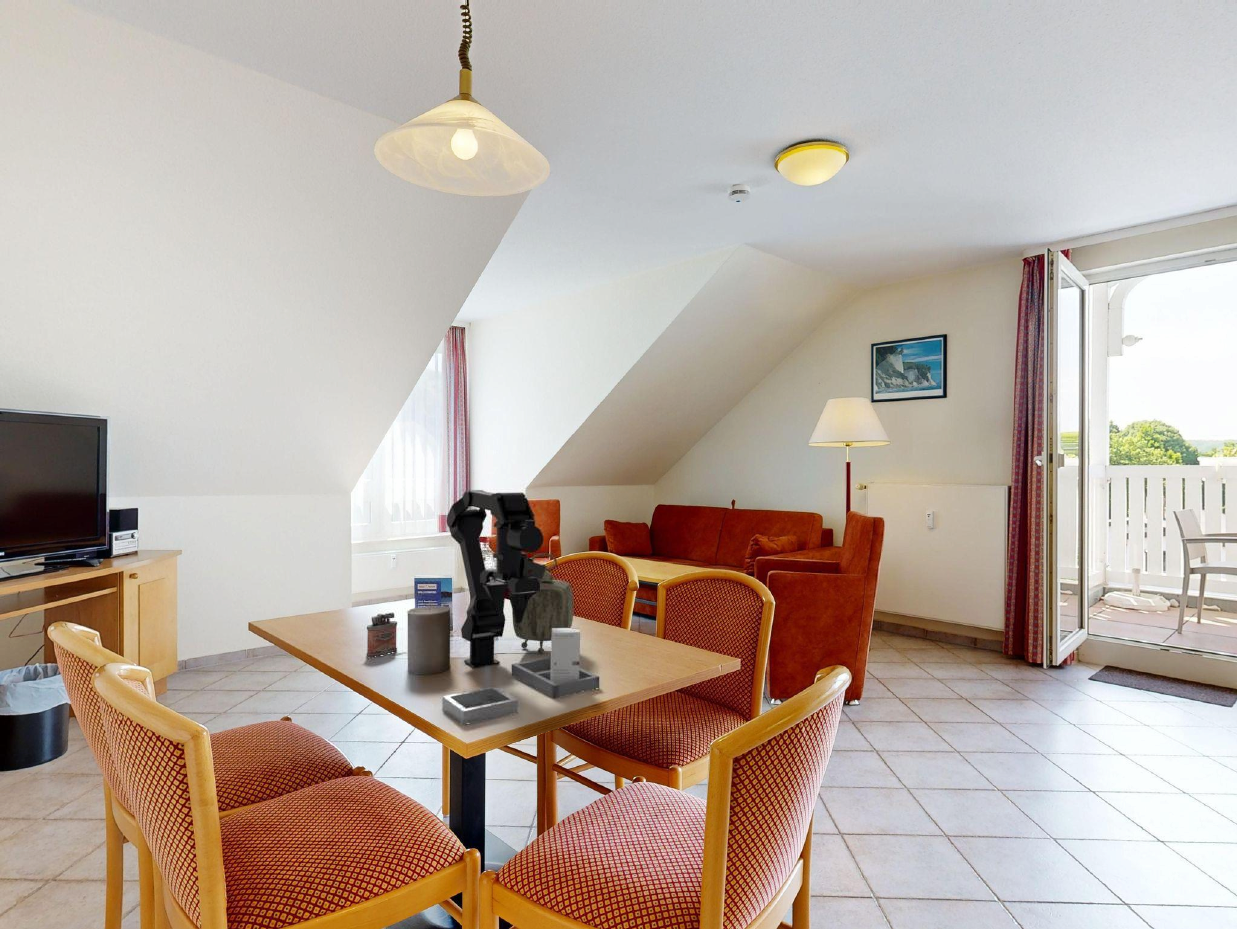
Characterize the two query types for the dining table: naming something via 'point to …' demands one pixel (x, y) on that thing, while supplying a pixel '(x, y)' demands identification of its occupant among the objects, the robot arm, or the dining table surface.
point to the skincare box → (565, 654)
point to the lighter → (381, 635)
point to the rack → (550, 688)
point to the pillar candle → (428, 639)
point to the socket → (480, 713)
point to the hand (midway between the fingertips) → (509, 619)
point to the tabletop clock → (546, 610)
